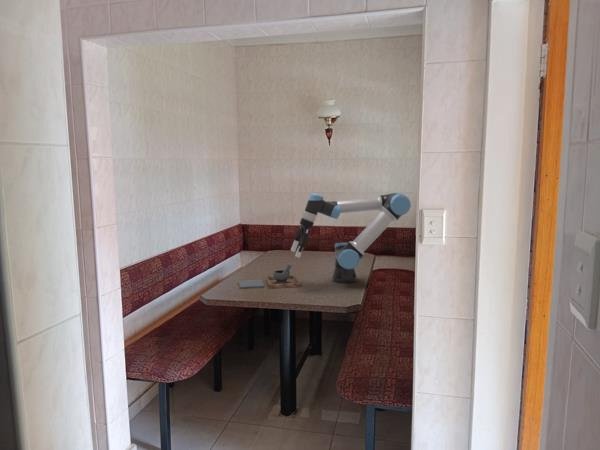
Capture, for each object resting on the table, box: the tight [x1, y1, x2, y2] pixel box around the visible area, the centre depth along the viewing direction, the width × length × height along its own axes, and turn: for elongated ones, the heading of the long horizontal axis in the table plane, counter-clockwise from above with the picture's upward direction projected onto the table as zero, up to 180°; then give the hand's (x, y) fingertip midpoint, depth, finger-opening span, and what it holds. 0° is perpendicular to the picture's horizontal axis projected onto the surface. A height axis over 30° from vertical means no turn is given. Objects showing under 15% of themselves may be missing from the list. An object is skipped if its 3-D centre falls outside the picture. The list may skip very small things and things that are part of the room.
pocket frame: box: [264, 274, 303, 290], centre depth 277 cm, size 19×22×2 cm
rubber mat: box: [238, 278, 265, 290], centre depth 273 cm, size 14×16×1 cm
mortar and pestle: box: [272, 262, 293, 284], centre depth 276 cm, size 11×9×12 cm
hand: (294, 254), depth 266 cm, fingers open, 13 cm apart
